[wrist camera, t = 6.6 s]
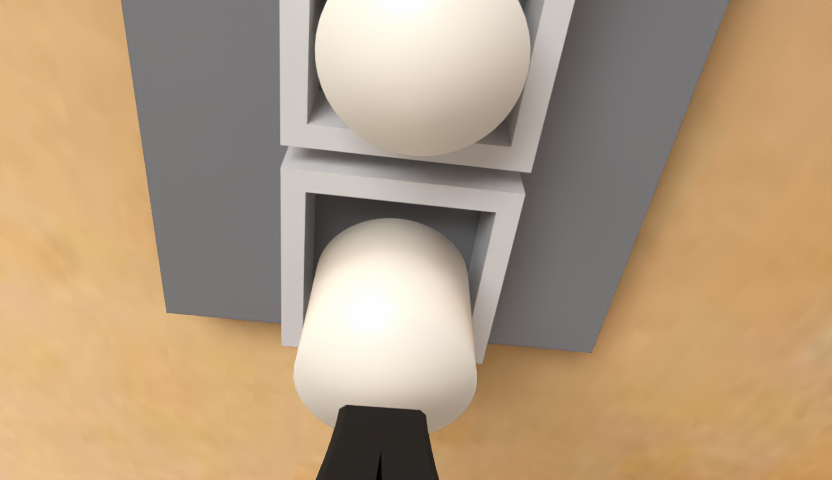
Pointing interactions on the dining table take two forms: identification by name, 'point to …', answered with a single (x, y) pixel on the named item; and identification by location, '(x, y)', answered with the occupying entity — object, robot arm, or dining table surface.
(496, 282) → the panel
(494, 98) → the knob mid
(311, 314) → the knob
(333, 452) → the robot arm
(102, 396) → the dining table surface
